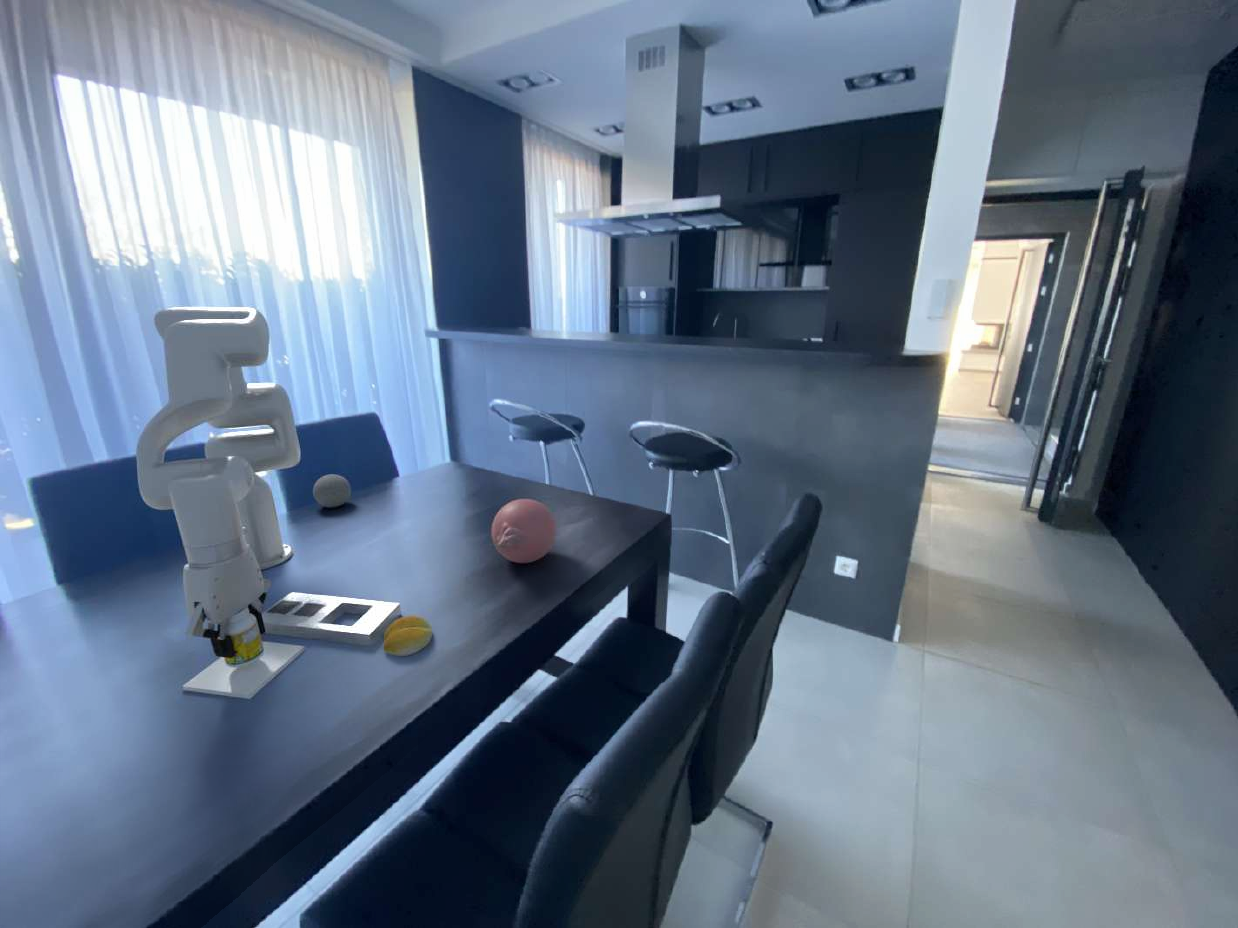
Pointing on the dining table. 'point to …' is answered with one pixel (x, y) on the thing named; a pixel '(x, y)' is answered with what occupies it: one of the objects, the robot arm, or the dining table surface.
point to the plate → (244, 673)
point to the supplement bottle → (244, 639)
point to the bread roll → (407, 636)
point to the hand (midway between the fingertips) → (241, 643)
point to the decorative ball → (332, 490)
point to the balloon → (523, 530)
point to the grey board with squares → (329, 618)
